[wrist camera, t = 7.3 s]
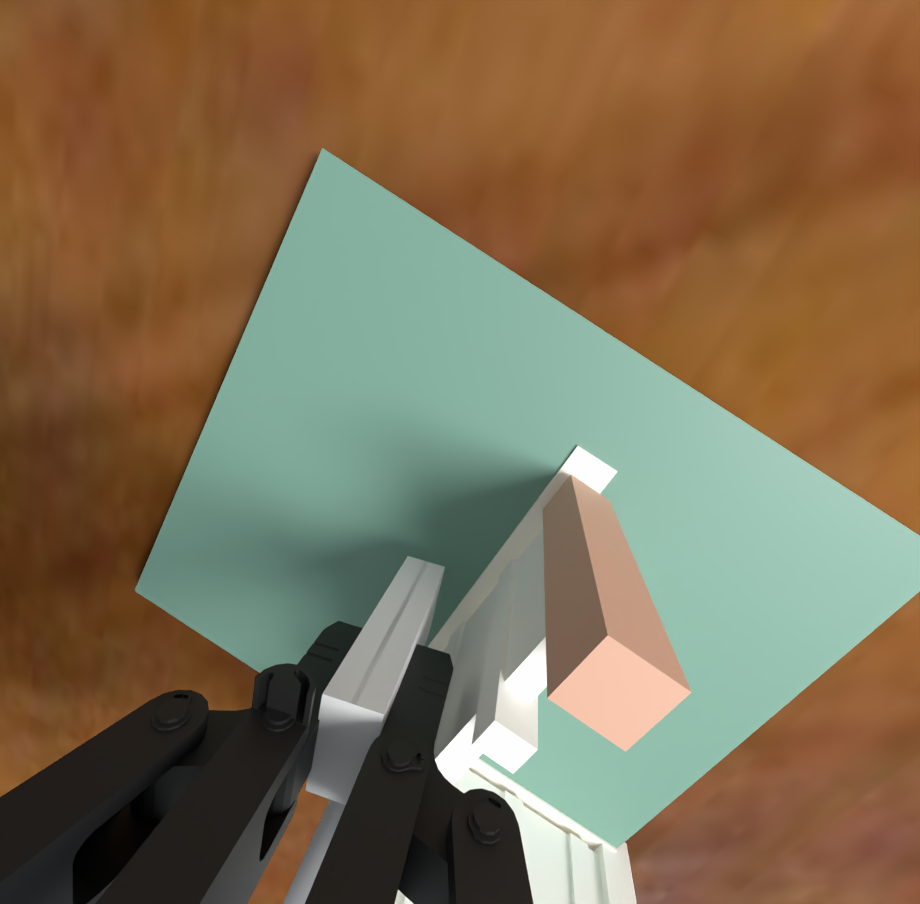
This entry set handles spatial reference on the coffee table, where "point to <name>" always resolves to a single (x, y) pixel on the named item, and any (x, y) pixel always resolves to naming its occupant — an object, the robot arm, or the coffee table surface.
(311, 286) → the board
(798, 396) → the coffee table surface
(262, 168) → the coffee table surface
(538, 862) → the fixed fence
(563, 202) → the coffee table surface
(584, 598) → the white crenellated wall
